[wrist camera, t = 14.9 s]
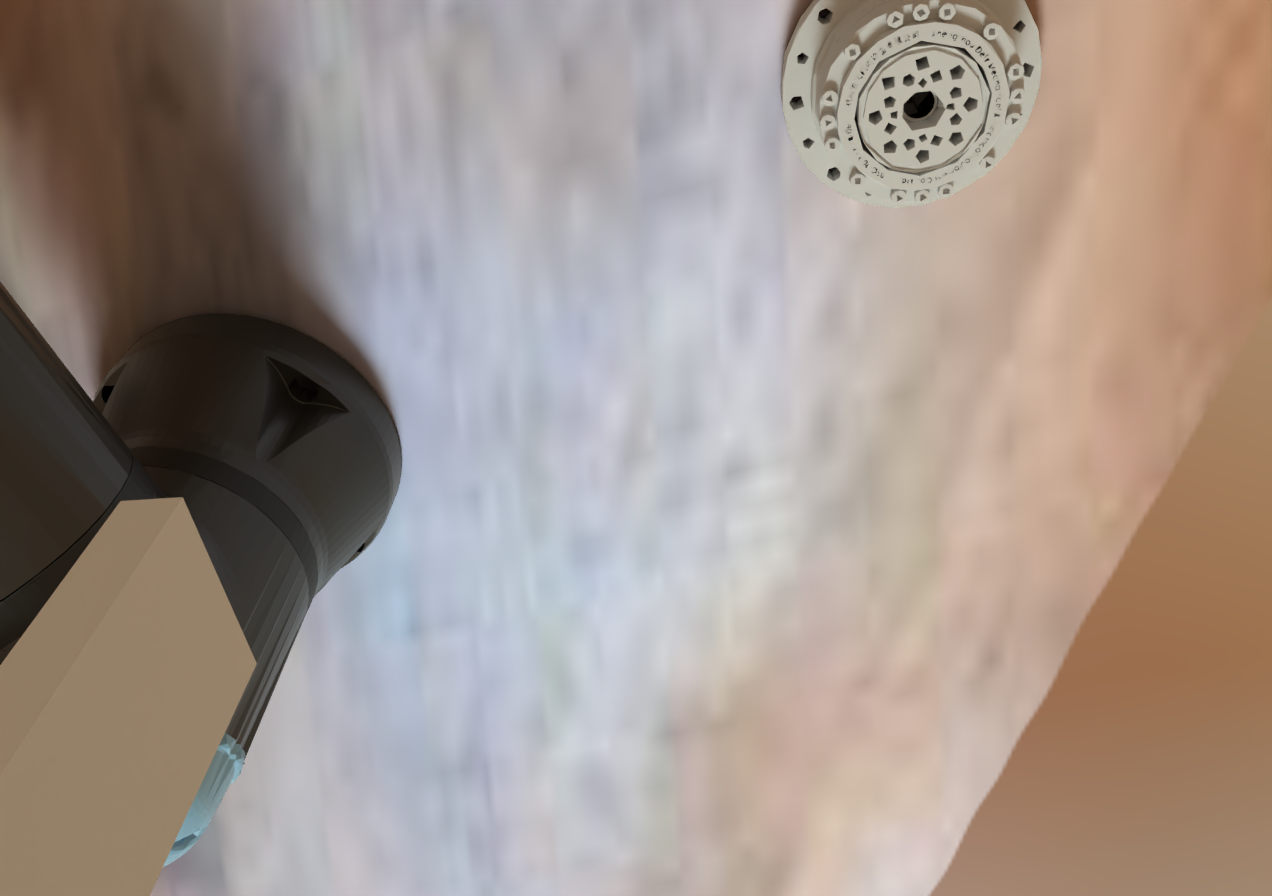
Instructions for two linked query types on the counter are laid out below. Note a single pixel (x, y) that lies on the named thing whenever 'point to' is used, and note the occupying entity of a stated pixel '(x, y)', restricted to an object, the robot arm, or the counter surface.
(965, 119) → the mechanical component
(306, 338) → the robot arm
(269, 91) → the counter surface
